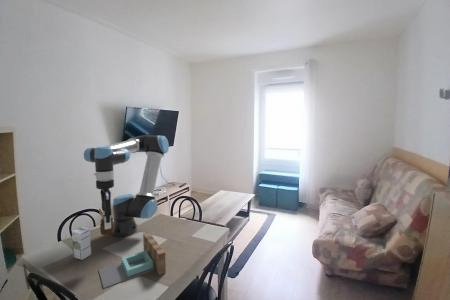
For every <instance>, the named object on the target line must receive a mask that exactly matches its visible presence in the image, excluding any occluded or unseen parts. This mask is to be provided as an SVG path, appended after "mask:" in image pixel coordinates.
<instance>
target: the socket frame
mask: <svg viewBox="0 0 450 300" xmlns="http://www.w3.org/2000/svg"><path fill="white" fill-rule="evenodd" d="M141 259H144V260H145V261H146V262H145V263H142V264H139V265H137V266H134V267H131V268H130V266H129V263H132V262H135V261H138V260H141ZM121 263H122V265H123V267H124V270H125V272H126V274H127V276H128V277H129V276H132V275H135V274H137V273H140V272H143V271H146V270H149V269H151V268H154V267H153V260H152V259H151V258H150V256H149V255H148V253H147V252H146V251H144V250H143V251H141V252H137V253H134V254H131V255H128V256H125V257H121Z"/></svg>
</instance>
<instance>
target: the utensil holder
mask: <svg viewBox="0 0 450 300" xmlns="http://www.w3.org/2000/svg"><path fill="white" fill-rule="evenodd" d="M98 212H99V215H100V216H101V219H100V225H99V226H100V228H99V229H100V231H99V232H100V234H101V235H102V236H108V235H112V233H113V232H114V214H113V210H111V214H112V215H111V228H110V229H105V224H104V218H103V214H102V207H101V208H99V209H98Z"/></svg>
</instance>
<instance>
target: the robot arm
mask: <svg viewBox="0 0 450 300" xmlns="http://www.w3.org/2000/svg"><path fill="white" fill-rule="evenodd" d="M169 149H170V145H169V140H168V138H167V136H165V135H152V134H151V135H149V134H148V135H147V134H146V135H145V134H144V135H138V136H134V137H130V138H128V139H127V140H125V141H119V142H116V143H112V144H109V145H104V146H96V147H89V148H86V149H85V150H84V152H83V158H84V159H83V160H85V162H88V163H94V166H95V167H94V168H95V173H93V175H94V176H95V179H96V181H95V187H96V189H97V190H100V199H101V211H102V216H103V218H104V224H105V229H110V228H111V217H112V215H113V222H114V232H113V233H112V234H111V235H112V236H113V237H117V238H119V237H120V238H121V237H128V236H131V235H132V234H135V233H136V232H137V231H138V225H137V223H136V220H135V218H136V219H144V220H145V219H148V220H149V219H152V218H153V217H154V215H155V214H156V212H157V210H158V201H157V200H156V196H155V193H154V192H155V188H156V184H157V179H158V173H159V168H160V164H161V159H163V157H164V156H165V154H167V153H168V152H169ZM130 153H145V155H146V162H145V166H144V170H143V174H142V180H141V182H140V183H141V184H140V188H139V192H138V193H137V194H136V195H135V197H134V194H130V193H126V194H121V195H118V196H116V197H114V198H113V200H112V199H111V195H112V192H111V190H110V189H112V188H114V186H115V179H114V178H115V177H114V176H115V175H114V174H115V171H114V166H115V165H119V164H124V163H126V162H128V161H129V159H130V158H131V155H130ZM111 200H112V201H113V202H112V203H111ZM111 204H112V205H111ZM112 206H113V207H112ZM112 209H113V210H112ZM112 211H113V212H112ZM111 212H112V214H111Z"/></svg>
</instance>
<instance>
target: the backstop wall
mask: <svg viewBox="0 0 450 300" xmlns="http://www.w3.org/2000/svg"><path fill="white" fill-rule="evenodd" d="M142 236H143V237H142V239H143V240H142V241H143V244H142V245H143V251H146V252H147V253H148V255H149V256H150V258H151V259H152V260H153V266H154V267H155V269H156V270H155V271H156V273H157V274H158V276H161V275H163V274H166V273H167V271H166V269H167V268H166V266H167V265H166V264H167V263H166V251H165V250H164V249H163V248H162V246H161V245H160V244H159V243H158V242H157V240H156V239H155V238H154V237H153V235H152V234H151V233H150V232H149V231H147V232H145V233H144V232H143V234H142Z"/></svg>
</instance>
